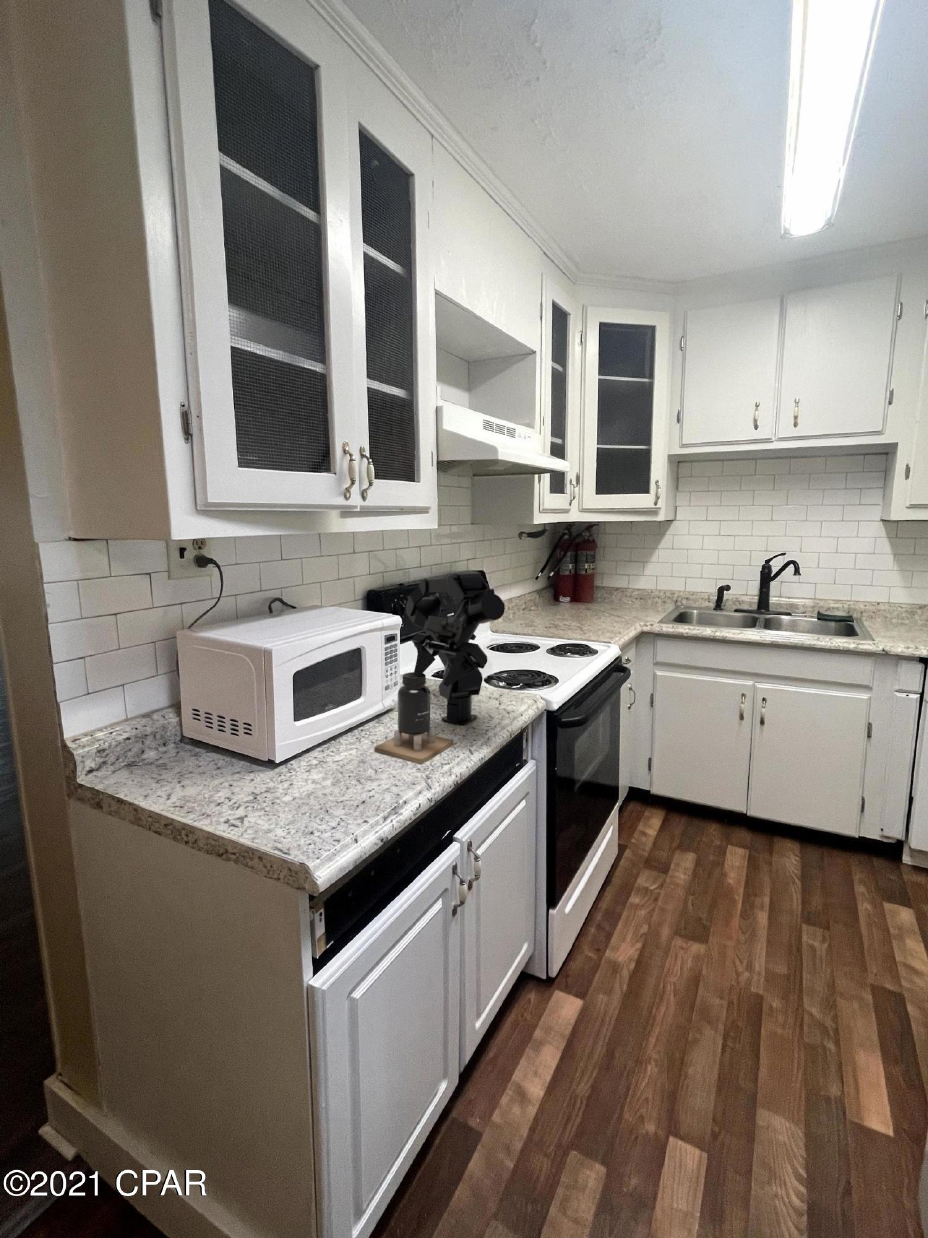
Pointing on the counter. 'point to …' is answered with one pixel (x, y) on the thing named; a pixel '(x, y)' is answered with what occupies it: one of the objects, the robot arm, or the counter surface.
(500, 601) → the robot arm
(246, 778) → the counter surface
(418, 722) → the supplement bottle
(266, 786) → the counter surface
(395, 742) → the peg stand
